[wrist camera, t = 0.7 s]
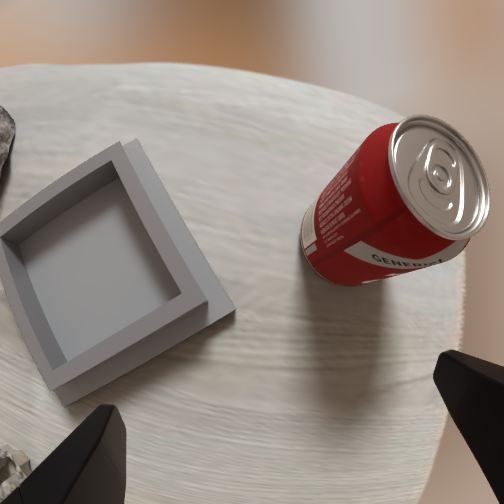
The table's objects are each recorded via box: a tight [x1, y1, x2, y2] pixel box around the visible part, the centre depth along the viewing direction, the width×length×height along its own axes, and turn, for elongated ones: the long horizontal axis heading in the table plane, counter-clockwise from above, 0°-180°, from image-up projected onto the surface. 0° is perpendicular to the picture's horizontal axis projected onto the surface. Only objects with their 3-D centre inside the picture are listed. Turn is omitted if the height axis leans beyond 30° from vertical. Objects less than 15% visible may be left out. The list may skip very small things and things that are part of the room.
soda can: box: [300, 115, 490, 286], centre depth 17 cm, size 7×7×12 cm
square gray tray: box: [0, 138, 236, 407], centre depth 18 cm, size 14×14×4 cm
